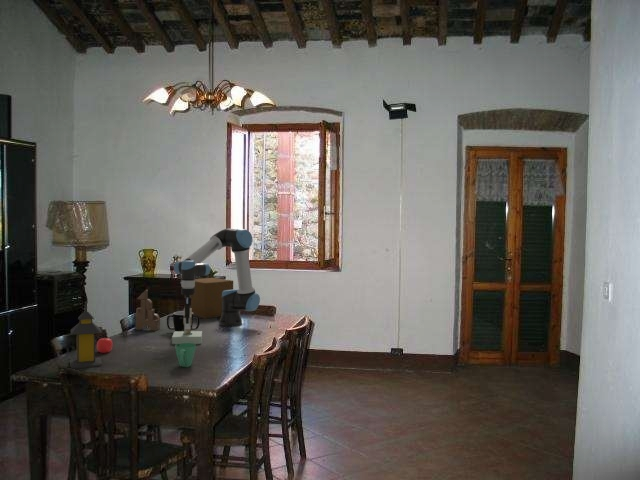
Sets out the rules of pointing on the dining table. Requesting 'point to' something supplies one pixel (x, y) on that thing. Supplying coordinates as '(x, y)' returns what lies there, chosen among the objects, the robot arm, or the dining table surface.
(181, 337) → the board
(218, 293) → the wood block
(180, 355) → the mug
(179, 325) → the mug
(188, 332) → the leg
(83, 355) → the lantern
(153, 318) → the wooden toy
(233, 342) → the dining table surface
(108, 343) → the red rounded cube
